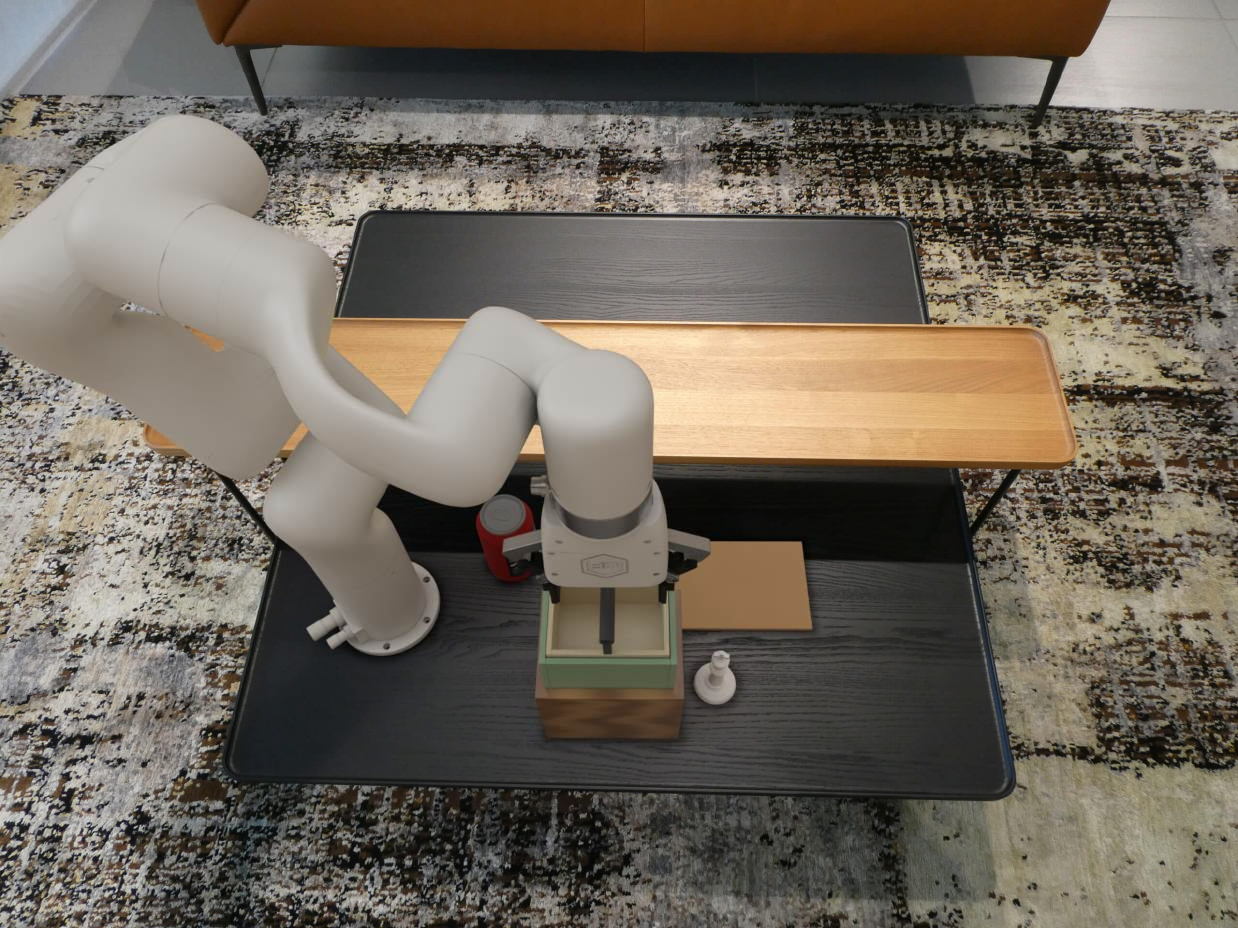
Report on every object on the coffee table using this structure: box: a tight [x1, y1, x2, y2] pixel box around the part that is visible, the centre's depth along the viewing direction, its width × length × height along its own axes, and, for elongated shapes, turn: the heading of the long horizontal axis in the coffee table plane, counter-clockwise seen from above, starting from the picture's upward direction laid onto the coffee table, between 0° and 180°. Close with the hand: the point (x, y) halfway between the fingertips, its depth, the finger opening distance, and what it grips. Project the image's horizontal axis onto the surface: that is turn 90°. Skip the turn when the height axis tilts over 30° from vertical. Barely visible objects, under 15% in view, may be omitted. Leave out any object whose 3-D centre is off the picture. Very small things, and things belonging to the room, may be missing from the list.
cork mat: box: [675, 541, 813, 632], centre depth 106 cm, size 18×12×1 cm, turn 89°
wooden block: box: [534, 588, 685, 740], centre depth 93 cm, size 15×12×14 cm
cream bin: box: [546, 585, 670, 659], centre depth 82 cm, size 12×9×11 cm
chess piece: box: [693, 650, 737, 705], centre depth 95 cm, size 5×5×10 cm
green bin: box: [539, 588, 677, 689], centre depth 84 cm, size 13×10×7 cm
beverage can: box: [475, 494, 537, 582], centre depth 103 cm, size 7×7×12 cm
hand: (609, 588), depth 77 cm, fingers open, 9 cm apart
